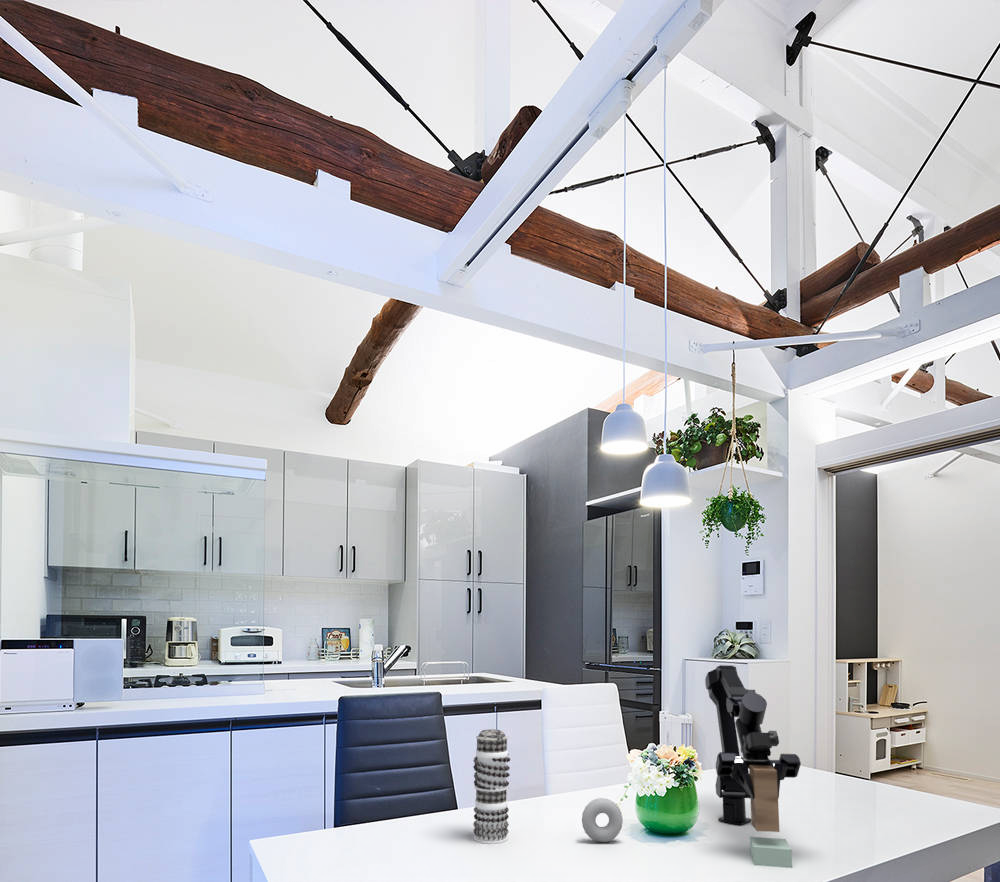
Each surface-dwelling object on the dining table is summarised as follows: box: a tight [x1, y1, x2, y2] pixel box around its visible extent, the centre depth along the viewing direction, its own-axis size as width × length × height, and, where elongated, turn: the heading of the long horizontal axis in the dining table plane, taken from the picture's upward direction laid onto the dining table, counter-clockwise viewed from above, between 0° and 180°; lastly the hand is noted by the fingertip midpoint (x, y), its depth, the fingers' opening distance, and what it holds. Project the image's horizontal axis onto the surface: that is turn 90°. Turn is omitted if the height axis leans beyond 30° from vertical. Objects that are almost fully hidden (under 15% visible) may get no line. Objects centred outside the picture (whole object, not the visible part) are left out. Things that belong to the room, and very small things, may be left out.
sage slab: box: [749, 836, 793, 869], centre depth 179 cm, size 8×8×4 cm
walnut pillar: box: [748, 765, 780, 833], centre depth 181 cm, size 5×5×13 cm
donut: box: [581, 797, 624, 843], centre depth 192 cm, size 10×4×10 cm, turn 92°
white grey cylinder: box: [472, 728, 511, 845], centre depth 195 cm, size 9×9×25 cm
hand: (765, 798), depth 180 cm, fingers closed on walnut pillar, 5 cm apart
